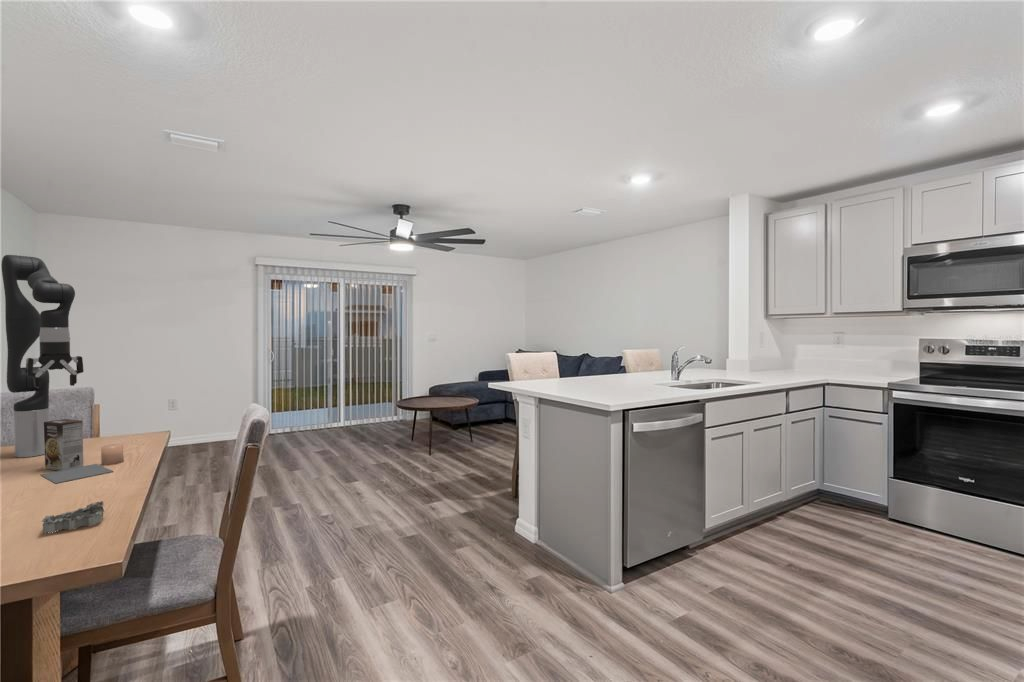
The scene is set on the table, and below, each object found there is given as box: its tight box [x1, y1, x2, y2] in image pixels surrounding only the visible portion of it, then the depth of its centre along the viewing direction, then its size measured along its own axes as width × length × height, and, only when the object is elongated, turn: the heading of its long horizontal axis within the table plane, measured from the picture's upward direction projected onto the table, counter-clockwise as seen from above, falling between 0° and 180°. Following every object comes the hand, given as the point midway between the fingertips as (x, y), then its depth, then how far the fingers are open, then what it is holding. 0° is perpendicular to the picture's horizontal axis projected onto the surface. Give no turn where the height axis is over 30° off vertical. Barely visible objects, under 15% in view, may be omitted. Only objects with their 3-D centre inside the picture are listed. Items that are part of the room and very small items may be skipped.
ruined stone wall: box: [41, 501, 105, 534], centre depth 111 cm, size 11×8×4 cm
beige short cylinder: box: [100, 443, 125, 466], centre depth 164 cm, size 6×6×6 cm
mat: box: [40, 463, 114, 485], centre depth 152 cm, size 16×14×1 cm
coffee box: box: [44, 418, 84, 471], centre depth 158 cm, size 9×6×16 cm
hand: (55, 386), depth 162 cm, fingers open, 8 cm apart
